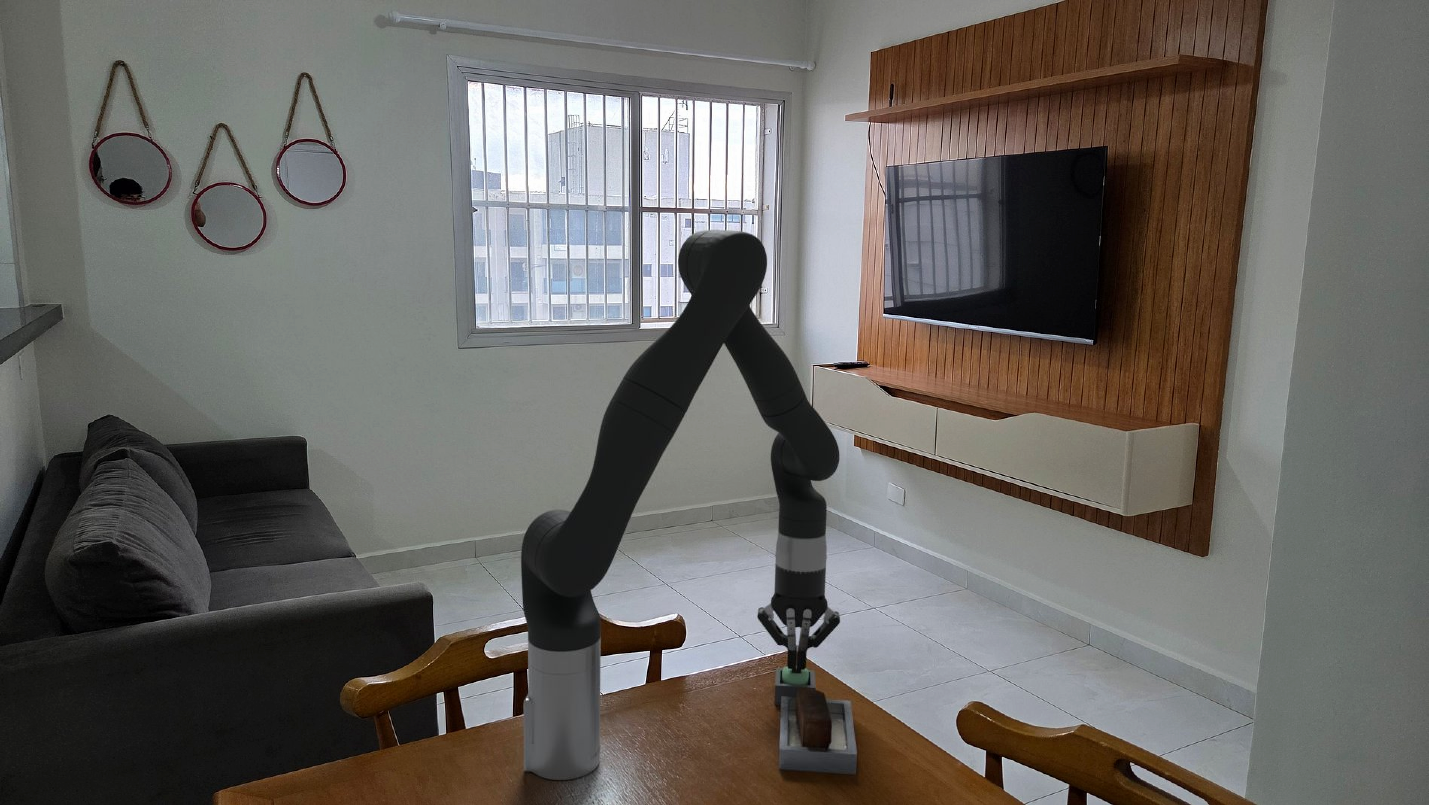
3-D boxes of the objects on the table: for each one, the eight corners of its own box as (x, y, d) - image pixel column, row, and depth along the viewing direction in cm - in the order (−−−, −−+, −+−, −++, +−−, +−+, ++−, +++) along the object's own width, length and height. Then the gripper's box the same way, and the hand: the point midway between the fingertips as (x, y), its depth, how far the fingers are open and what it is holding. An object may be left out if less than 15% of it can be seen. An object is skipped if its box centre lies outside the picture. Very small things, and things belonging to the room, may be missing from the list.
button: (781, 691, 142) (782, 676, 141) (781, 680, 146) (782, 664, 145) (808, 693, 141) (809, 677, 141) (807, 681, 145) (808, 666, 145)
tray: (778, 769, 123) (779, 749, 123) (780, 714, 138) (781, 696, 138) (855, 774, 122) (857, 754, 122) (849, 718, 137) (850, 700, 137)
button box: (774, 704, 141) (775, 685, 141) (775, 686, 147) (776, 668, 146) (814, 706, 141) (815, 687, 140) (813, 688, 146) (814, 670, 146)
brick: (831, 754, 125) (833, 721, 124) (801, 753, 125) (803, 720, 124) (822, 715, 135) (823, 685, 135) (794, 715, 135) (795, 684, 135)
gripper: (755, 567, 137) (751, 679, 140) (846, 572, 136) (841, 684, 139) (757, 551, 145) (754, 658, 147) (844, 555, 144) (839, 663, 146)
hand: (796, 670), depth 143 cm, fingers closed
